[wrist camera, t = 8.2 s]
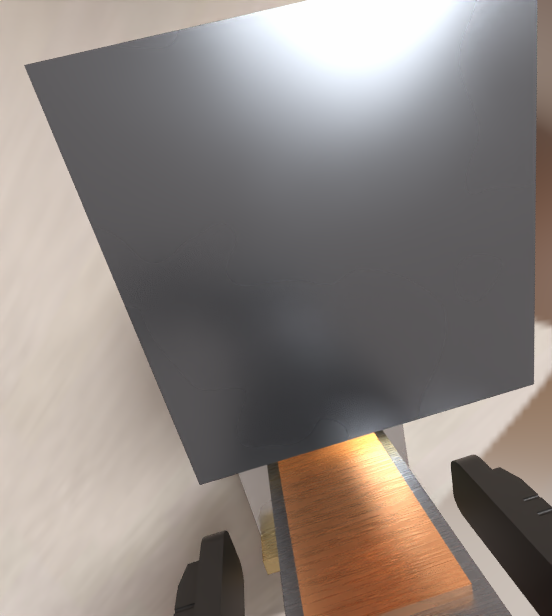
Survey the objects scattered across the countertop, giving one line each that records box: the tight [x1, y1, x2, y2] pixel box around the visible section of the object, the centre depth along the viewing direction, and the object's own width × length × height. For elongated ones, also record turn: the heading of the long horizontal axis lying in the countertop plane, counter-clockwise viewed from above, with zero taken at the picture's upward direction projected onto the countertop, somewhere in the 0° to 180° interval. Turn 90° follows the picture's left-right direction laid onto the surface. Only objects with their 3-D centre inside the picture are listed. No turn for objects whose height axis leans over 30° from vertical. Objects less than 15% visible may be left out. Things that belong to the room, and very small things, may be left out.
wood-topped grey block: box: [267, 430, 512, 616], centre depth 9 cm, size 4×4×7 cm
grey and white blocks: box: [24, 0, 537, 575], centre depth 9 cm, size 7×16×9 cm, turn 14°
